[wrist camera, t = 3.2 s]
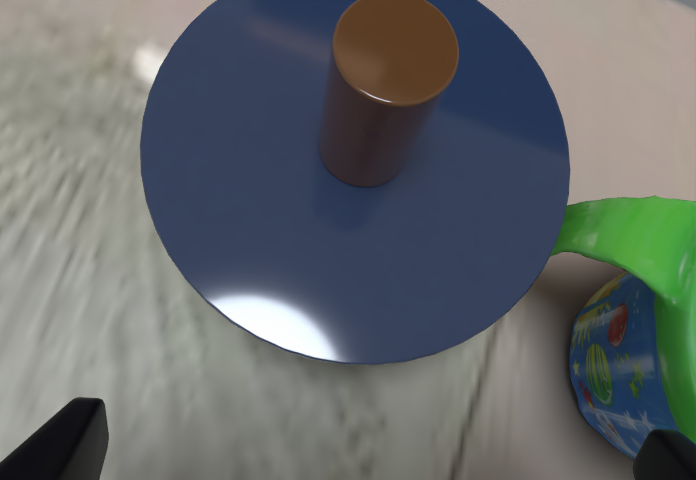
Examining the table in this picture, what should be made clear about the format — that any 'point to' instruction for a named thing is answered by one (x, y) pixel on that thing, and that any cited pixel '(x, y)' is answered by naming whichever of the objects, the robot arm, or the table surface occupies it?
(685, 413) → the snack cup
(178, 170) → the lid
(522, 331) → the table surface
